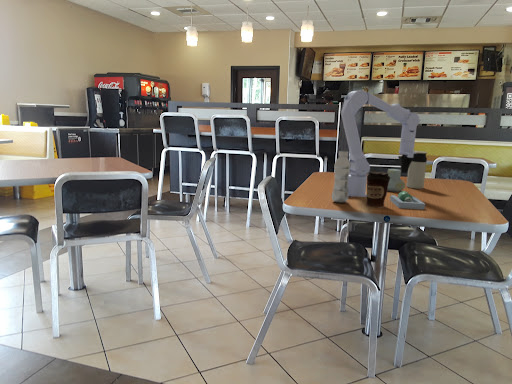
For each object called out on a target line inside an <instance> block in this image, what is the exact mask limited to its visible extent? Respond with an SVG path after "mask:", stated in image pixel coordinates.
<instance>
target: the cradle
mask: <svg viewBox="0 0 512 384" xmlns="http://www.w3.org/2000/svg"><path fill="white" fill-rule="evenodd" d="M411 196H412V197H413V201H412V202H403V201H401V200H400V199H399V198H398V196H396V195H395V194H394V195H393V194H391V195H390V198H389V201H390V202H391V203H392V204H394V205H395V206H396V207H397V208H398V209H406V210H407V209H409V210H410V209H411V210H425V208H426V203H424V202H423V201H422V200H420V199H419V198H417V197H416V196H413V195H411Z"/></svg>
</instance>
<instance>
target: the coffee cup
mask: <svg viewBox="0 0 512 384" xmlns="http://www.w3.org/2000/svg"><path fill="white" fill-rule="evenodd" d="M388 174H389V173H388V172H383V171H380V172H379V171H378V172H377V171H374V172H373V171H369V172H368V174H367V181H366V195H367V197H366V206H368V207H371V208H385V199H386V197H387V195H388V191H387V189H388V183H389V181H390V176H388Z"/></svg>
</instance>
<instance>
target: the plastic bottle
mask: <svg viewBox="0 0 512 384" xmlns="http://www.w3.org/2000/svg"><path fill="white" fill-rule="evenodd" d="M333 168H334V170H333V171H334V183H333V188H332V189H333V190H332V193H331V199H332V201H333V202H335V203H347V201H348V200H349V197H350V196H349V195H348V179H349V174H350V172H351V170H350V168H351V163H350V161H349V150H348V151H346V150H339V151H338V158H337V159H336V160H335V163H334V167H333Z"/></svg>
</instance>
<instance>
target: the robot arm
mask: <svg viewBox="0 0 512 384" xmlns="http://www.w3.org/2000/svg"><path fill="white" fill-rule="evenodd" d="M365 105H371V106H372V107H375V108H377V109H379V110H382V111H384V112H386V115H387V117H388V118H391V120H393V121H394V120H395V121H396V122H399V123H400V124H401V134H400V143H399V150H398V153H399V155H398V156H397V158H398V160H399V165H400V170H401V174H408V169H409V166H410V164H411V162H412V160H413V159H414V158H413V155H414V154H416V152H414V151H415V143H416V135H417V134H416V133H417V126H418V125H419V124H420V122H421V119H420V116H419V115H418V113H416V112H411V110H410V109H409V108H408V109H406V108H404V107H402V106H401V104H400V103H393V104H390V103H388V102H386V101H384V100H383V99H381V98H379V97H378V96H376V95H374V94H373V93H371V92H368V91H365V90H363V89H358V90H352V91H350V92H348V93H347V95H346V96H345V97H344V98H343V105H342V108H341V111H340V115H341V120H342V125H343V129H344V130H343V131H344V133H345V138H346V142H347V146H348V152H349V155H348V160H349V161H350V163H351V168H350V173H349V179H348V195H349V197H359V198H360V197H362V198H367V175H368V174H369V172H370V171H371V166H370V163H369V162H368V160H367V157H366V155H365V154H364V152H363V148H362V143H361V139H360V134H359V130H358V125H357V121H356V114H357V112H358V111H359V109H361V108H362V107H364V106H365Z"/></svg>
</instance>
